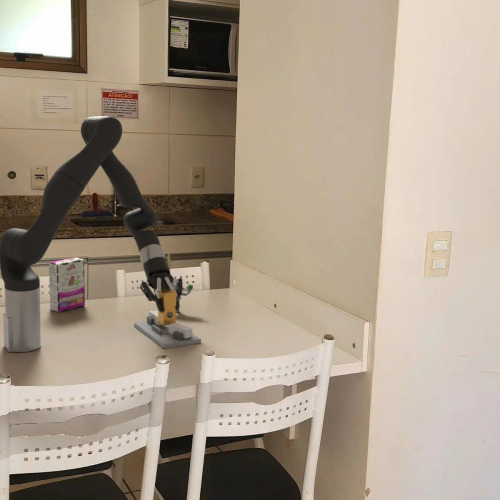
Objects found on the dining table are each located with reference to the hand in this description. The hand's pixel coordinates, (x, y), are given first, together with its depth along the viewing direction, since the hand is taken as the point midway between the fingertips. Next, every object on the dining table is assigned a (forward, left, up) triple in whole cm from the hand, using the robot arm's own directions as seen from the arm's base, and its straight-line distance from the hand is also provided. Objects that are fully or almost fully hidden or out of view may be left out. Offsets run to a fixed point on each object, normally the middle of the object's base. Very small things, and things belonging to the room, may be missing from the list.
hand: (170, 310), depth 202 cm
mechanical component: (+13, +22, -8) cm, 27 cm away
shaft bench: (0, +2, -8) cm, 8 cm away
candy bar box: (-19, +40, -8) cm, 45 cm away
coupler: (0, +2, -5) cm, 5 cm away
